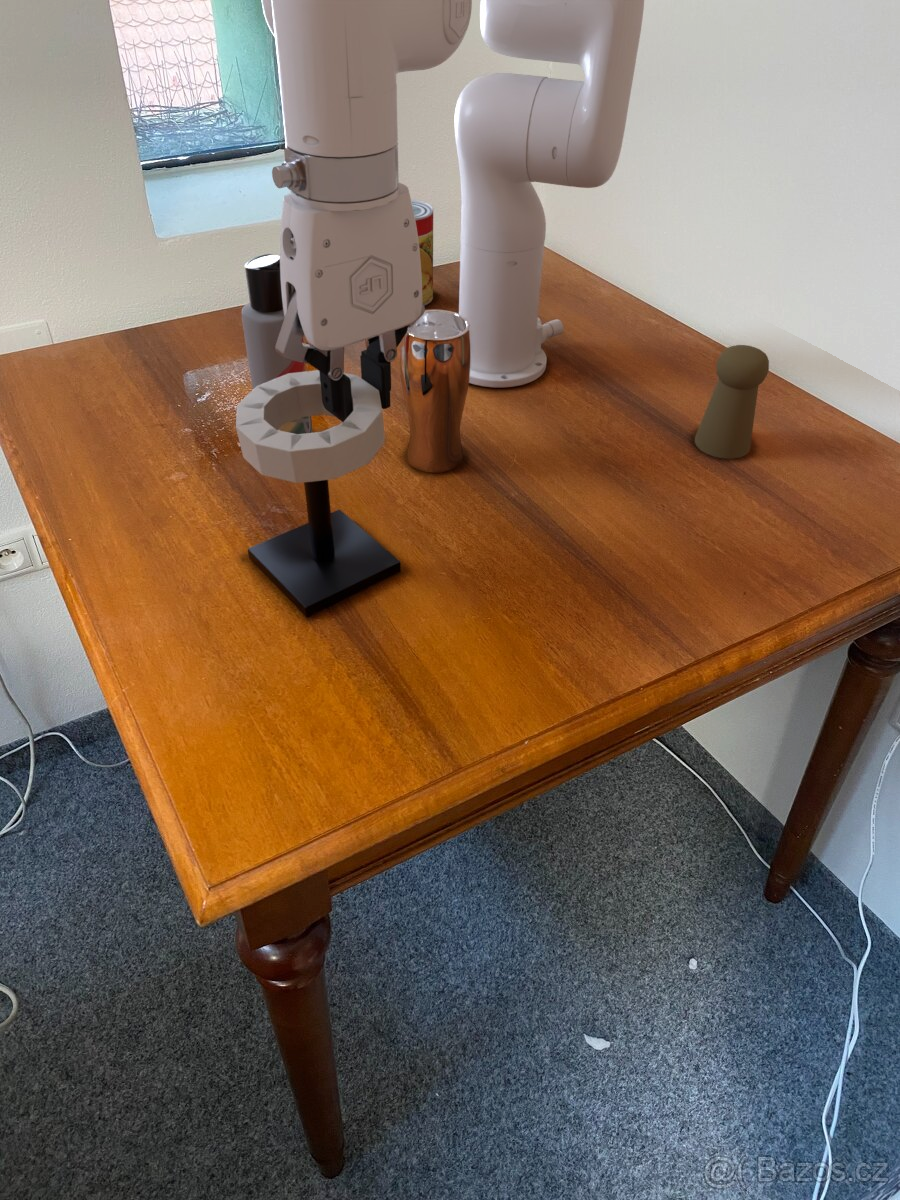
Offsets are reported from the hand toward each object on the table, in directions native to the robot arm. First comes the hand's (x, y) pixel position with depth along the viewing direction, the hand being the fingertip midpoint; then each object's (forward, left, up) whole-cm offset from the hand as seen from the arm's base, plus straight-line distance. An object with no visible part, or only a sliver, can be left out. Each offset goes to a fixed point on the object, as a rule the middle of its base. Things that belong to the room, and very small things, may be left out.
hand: (357, 407), depth 72 cm
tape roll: (+4, 0, -2) cm, 5 cm away
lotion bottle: (-3, -20, -15) cm, 25 cm away
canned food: (-36, -43, -15) cm, 58 cm away
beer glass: (-14, -8, -15) cm, 22 cm away
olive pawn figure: (-41, +9, -15) cm, 45 cm away
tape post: (+5, 0, -15) cm, 15 cm away
